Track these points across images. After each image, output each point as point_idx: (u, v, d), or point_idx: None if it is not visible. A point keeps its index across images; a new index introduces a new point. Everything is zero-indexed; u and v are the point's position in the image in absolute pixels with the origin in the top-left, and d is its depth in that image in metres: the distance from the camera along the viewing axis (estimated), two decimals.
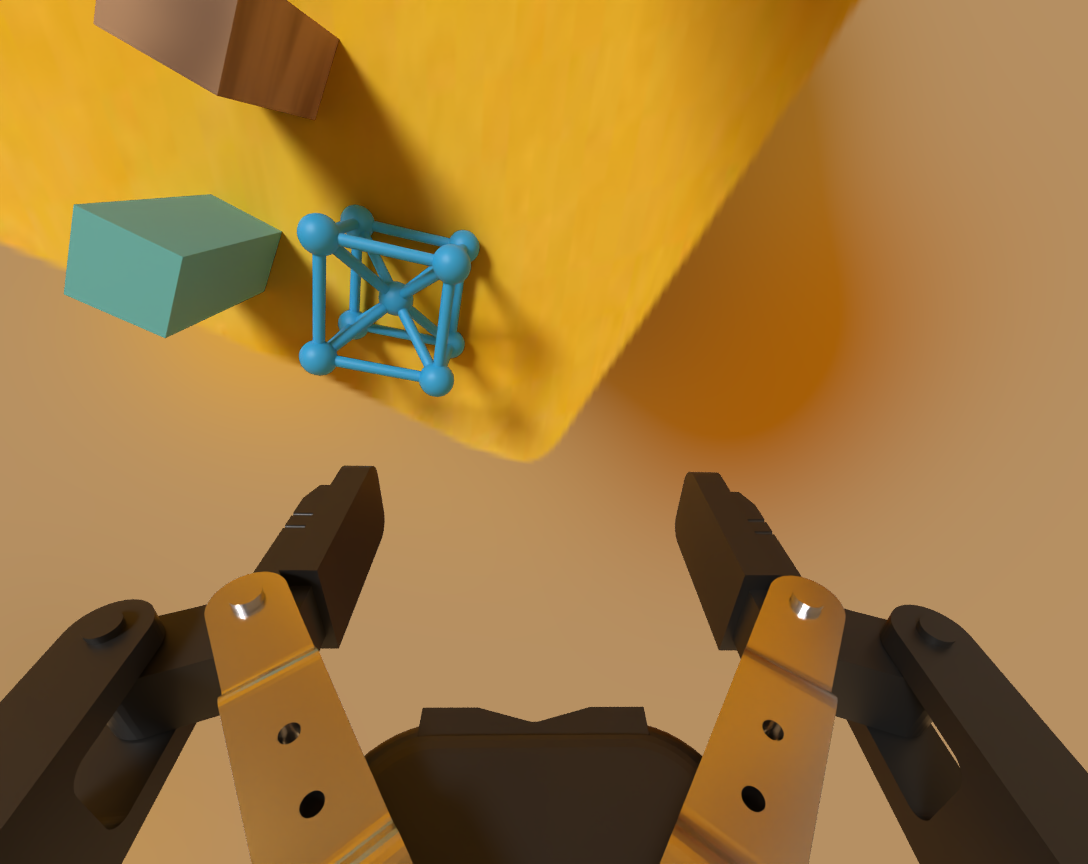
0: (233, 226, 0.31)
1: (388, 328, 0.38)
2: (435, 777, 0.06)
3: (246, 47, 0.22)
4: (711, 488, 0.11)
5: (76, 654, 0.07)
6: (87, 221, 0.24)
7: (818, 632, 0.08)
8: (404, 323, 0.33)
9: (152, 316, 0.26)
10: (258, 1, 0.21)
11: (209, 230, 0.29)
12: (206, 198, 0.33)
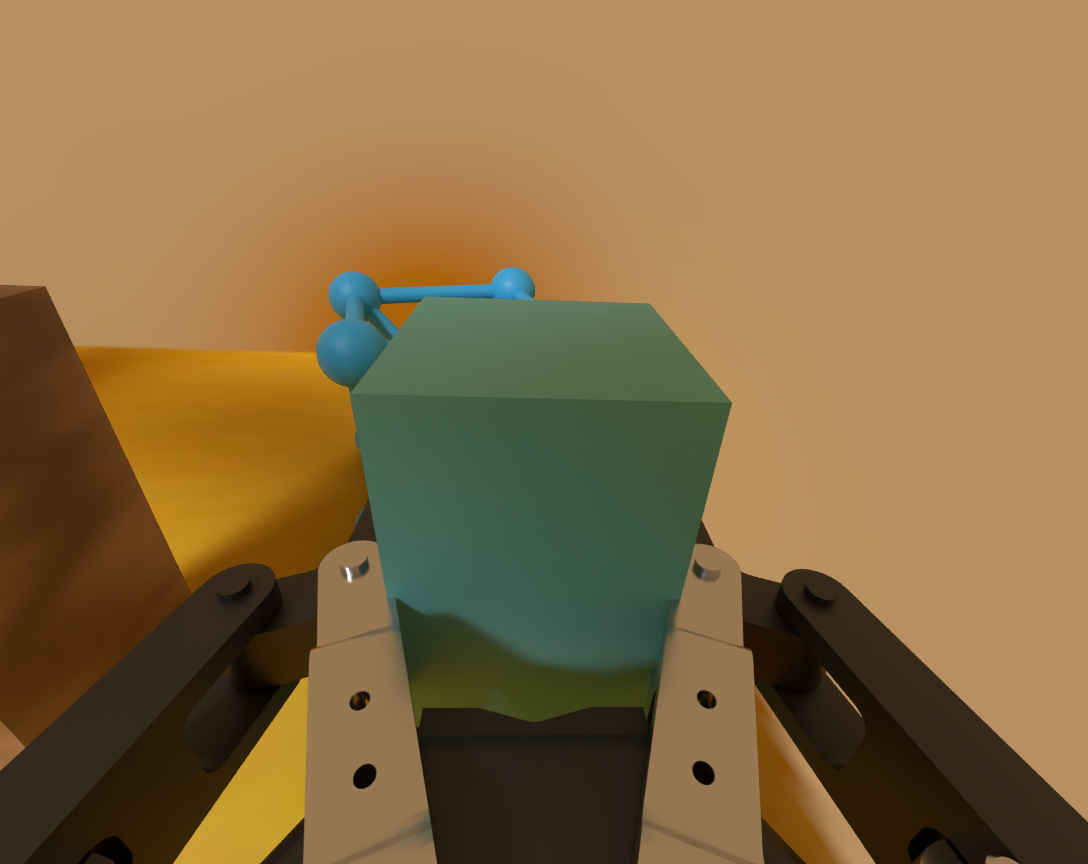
0: None
1: None
2: (435, 777, 0.06)
3: None
4: None
5: (209, 606, 0.08)
6: (404, 375, 0.07)
7: (711, 592, 0.08)
8: None
9: (612, 312, 0.10)
10: None
11: None
12: None
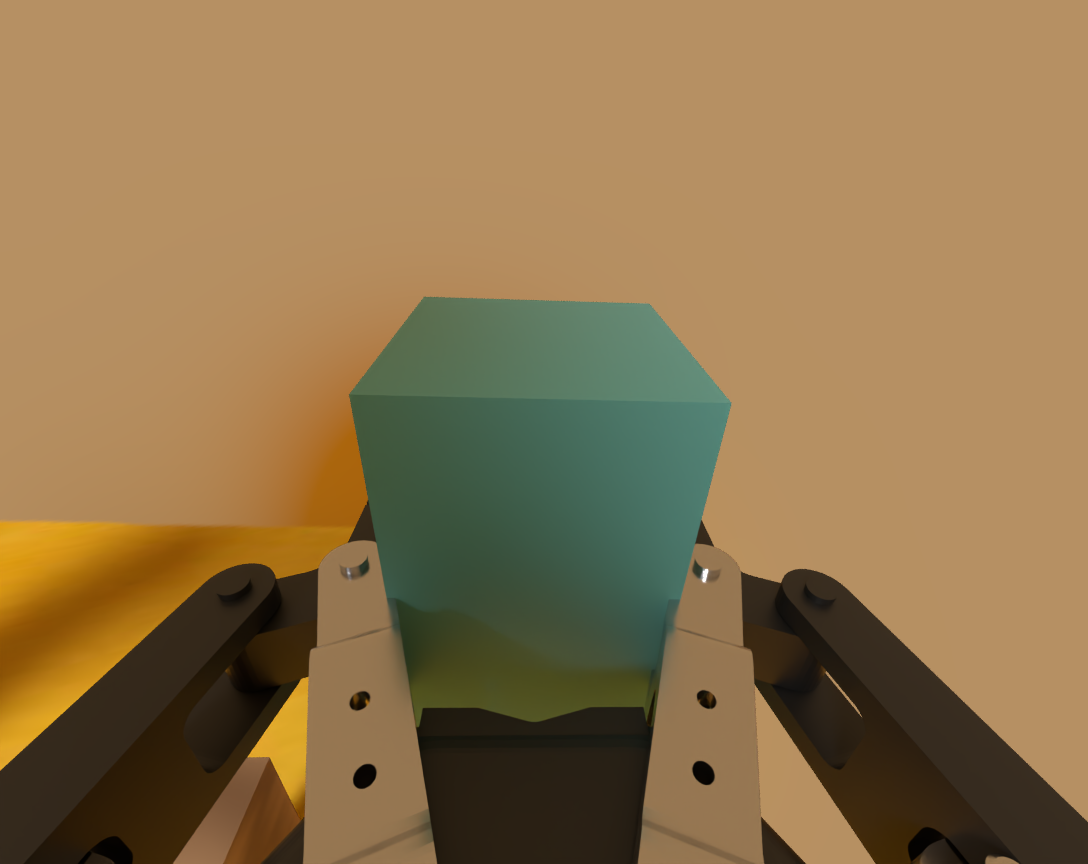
0: None
1: None
2: (435, 777, 0.06)
3: None
4: None
5: (209, 606, 0.08)
6: (403, 375, 0.07)
7: (711, 592, 0.08)
8: None
9: (612, 312, 0.10)
10: None
11: None
12: None
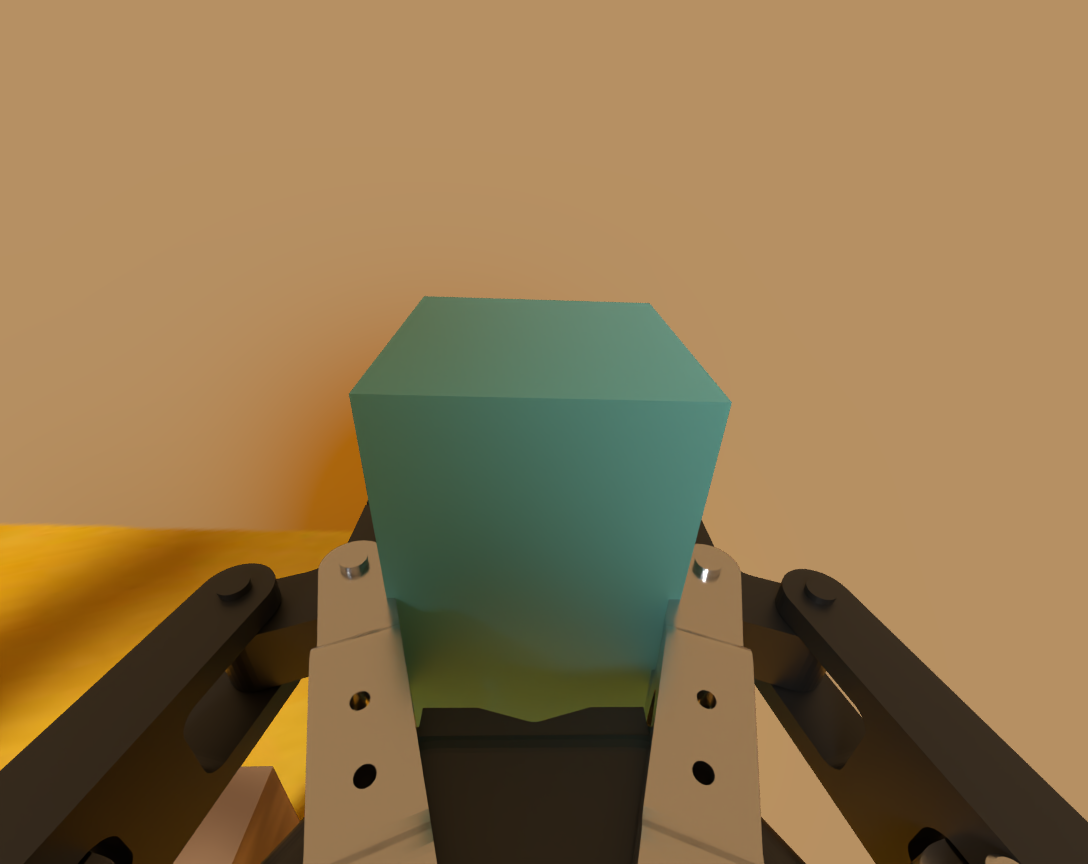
0: None
1: None
2: (435, 777, 0.06)
3: None
4: None
5: (209, 606, 0.08)
6: (403, 374, 0.07)
7: (711, 592, 0.08)
8: None
9: (611, 312, 0.10)
10: None
11: None
12: None
